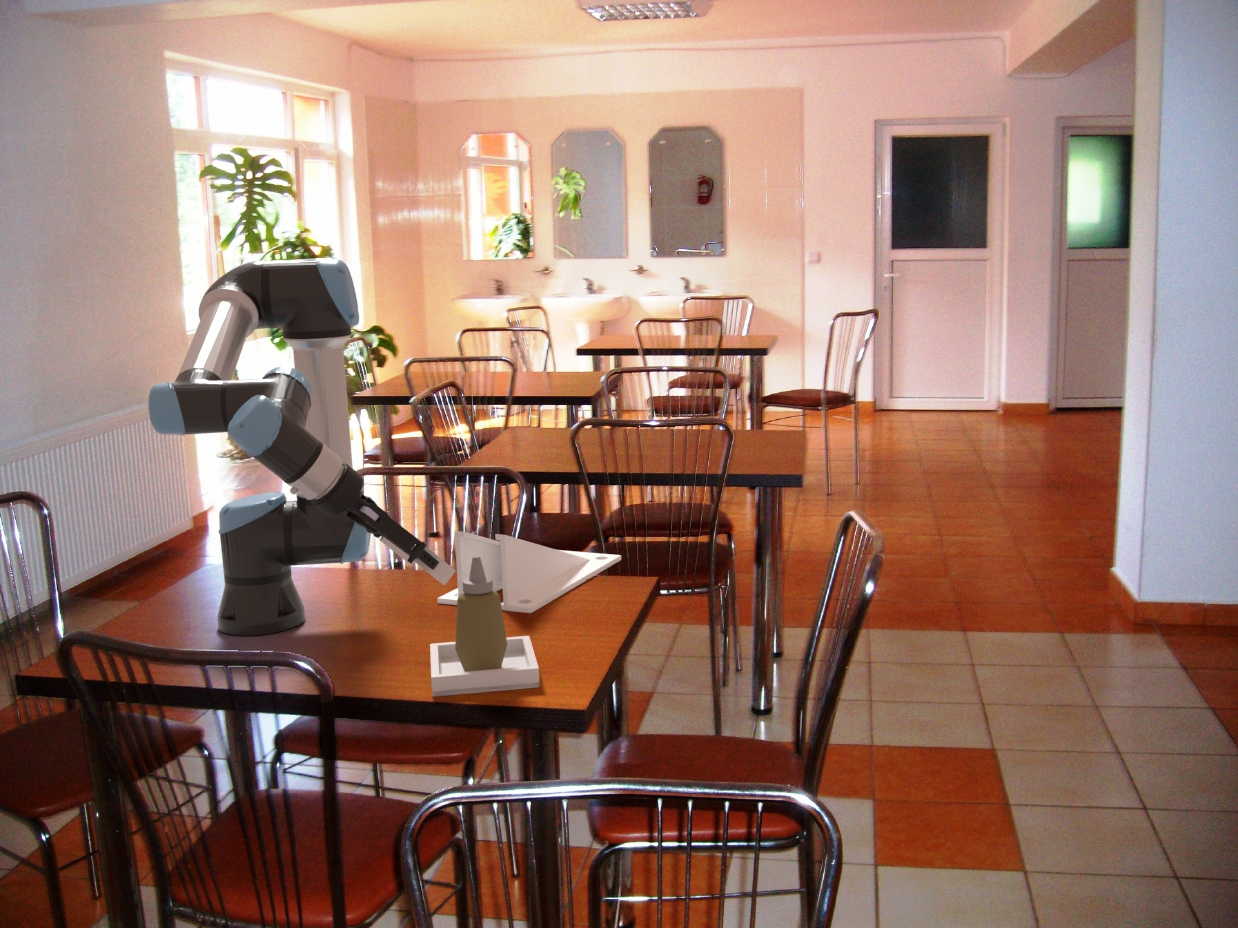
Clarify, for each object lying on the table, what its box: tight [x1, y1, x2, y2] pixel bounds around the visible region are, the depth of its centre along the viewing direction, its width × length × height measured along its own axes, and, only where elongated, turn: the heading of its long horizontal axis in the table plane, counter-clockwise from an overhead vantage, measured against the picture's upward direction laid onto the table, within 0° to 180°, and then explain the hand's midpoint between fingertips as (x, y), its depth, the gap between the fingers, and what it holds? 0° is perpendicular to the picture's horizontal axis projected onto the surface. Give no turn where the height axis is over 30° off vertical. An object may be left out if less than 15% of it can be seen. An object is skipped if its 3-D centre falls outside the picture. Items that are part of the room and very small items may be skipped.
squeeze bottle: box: [455, 556, 507, 672], centre depth 185 cm, size 8×8×18 cm
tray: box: [429, 635, 541, 698], centre depth 187 cm, size 16×16×3 cm
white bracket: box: [436, 530, 622, 614], centre depth 239 cm, size 20×14×40 cm
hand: (432, 567), depth 180 cm, fingers open, 13 cm apart
